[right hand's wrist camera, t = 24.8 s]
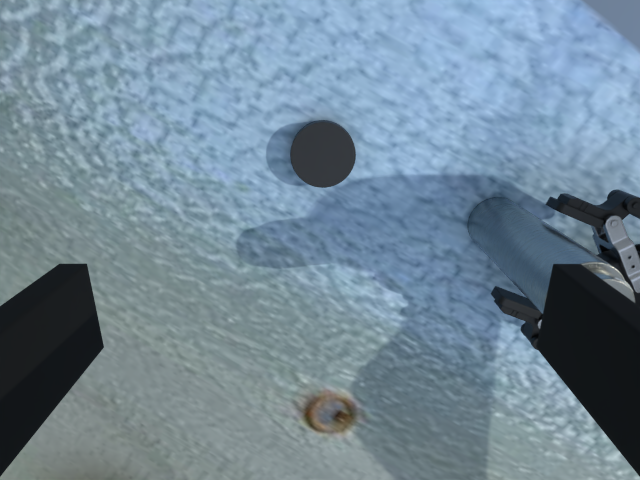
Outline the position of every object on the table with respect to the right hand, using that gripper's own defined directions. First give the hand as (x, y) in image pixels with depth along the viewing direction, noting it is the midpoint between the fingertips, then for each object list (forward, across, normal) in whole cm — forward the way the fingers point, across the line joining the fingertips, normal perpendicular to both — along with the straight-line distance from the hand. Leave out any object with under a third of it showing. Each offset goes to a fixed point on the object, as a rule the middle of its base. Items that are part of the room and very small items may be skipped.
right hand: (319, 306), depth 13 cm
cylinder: (+27, +16, -6) cm, 32 cm away
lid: (+26, 0, 0) cm, 26 cm away
